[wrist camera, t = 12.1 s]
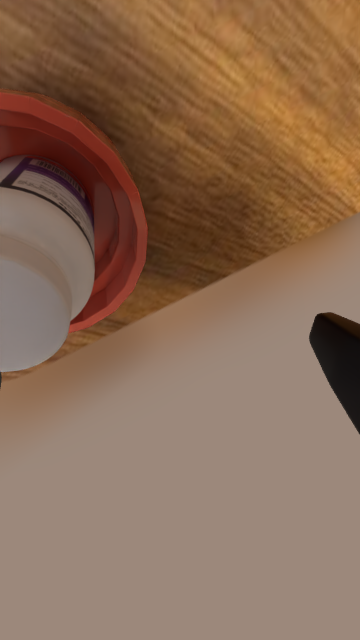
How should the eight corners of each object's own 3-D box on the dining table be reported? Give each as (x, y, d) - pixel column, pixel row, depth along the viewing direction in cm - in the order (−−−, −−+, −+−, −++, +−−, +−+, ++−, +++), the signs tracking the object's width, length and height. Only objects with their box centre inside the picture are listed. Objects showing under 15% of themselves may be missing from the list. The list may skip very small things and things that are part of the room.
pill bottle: (11, 269, 18) (-52, 407, 10) (-44, 165, 14) (-200, 253, 7) (107, 247, 18) (116, 364, 11) (74, 142, 15) (53, 200, 7)
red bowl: (169, 235, 19) (186, 269, 16) (35, 319, 21) (22, 367, 17) (48, 35, 13) (31, 15, 10) (-132, 173, 14) (-206, 201, 11)
